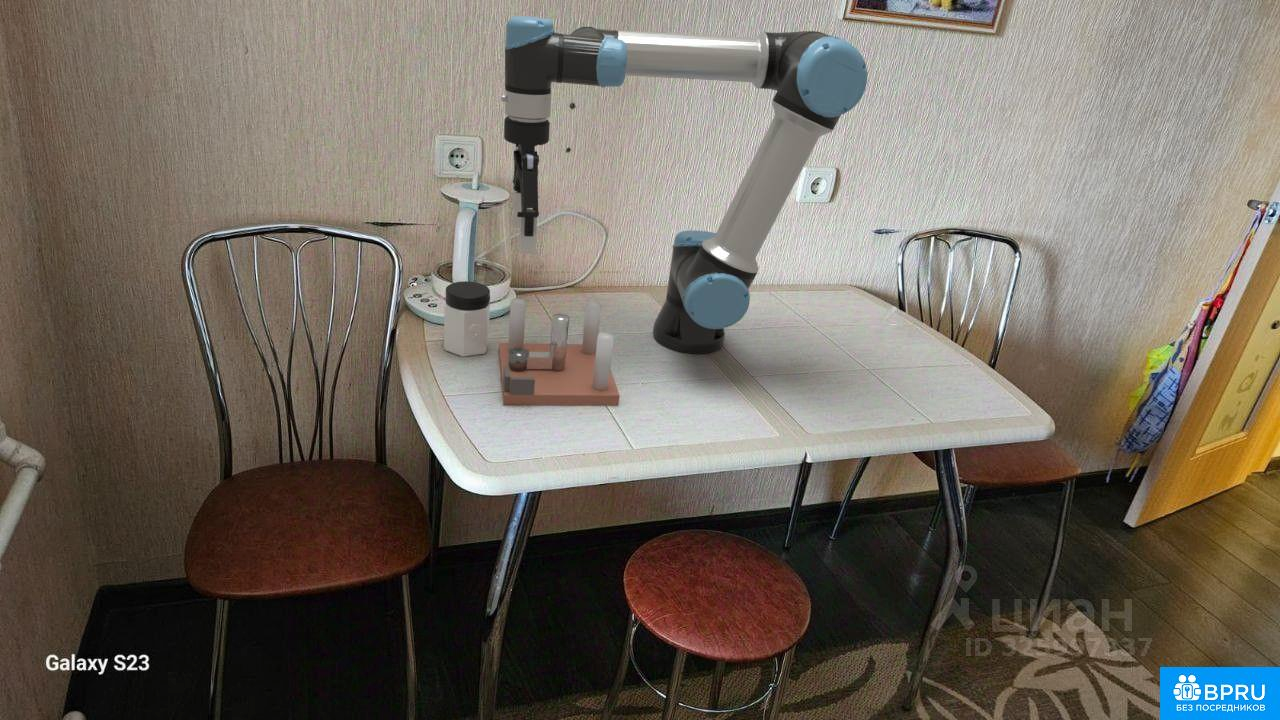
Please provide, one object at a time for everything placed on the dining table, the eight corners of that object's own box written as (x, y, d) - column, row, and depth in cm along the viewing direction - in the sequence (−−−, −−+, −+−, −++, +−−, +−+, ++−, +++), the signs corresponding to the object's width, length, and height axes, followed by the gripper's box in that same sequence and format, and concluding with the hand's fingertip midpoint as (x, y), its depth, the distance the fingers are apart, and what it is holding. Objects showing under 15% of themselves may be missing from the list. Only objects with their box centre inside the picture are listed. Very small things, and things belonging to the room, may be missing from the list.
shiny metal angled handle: (508, 370, 145) (511, 319, 141) (507, 361, 148) (510, 311, 144) (566, 371, 148) (570, 321, 143) (563, 362, 151) (568, 312, 146)
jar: (452, 359, 151) (453, 300, 146) (436, 341, 157) (436, 283, 152) (496, 352, 156) (499, 294, 151) (480, 335, 162) (481, 278, 157)
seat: (600, 353, 161) (607, 297, 155) (618, 405, 144) (625, 344, 138) (498, 352, 156) (501, 294, 151) (503, 405, 139) (506, 342, 134)
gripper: (499, 102, 145) (498, 217, 155) (510, 132, 124) (507, 264, 133) (541, 104, 147) (537, 218, 156) (559, 135, 125) (553, 264, 135)
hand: (524, 239), depth 145 cm, fingers open, 13 cm apart
